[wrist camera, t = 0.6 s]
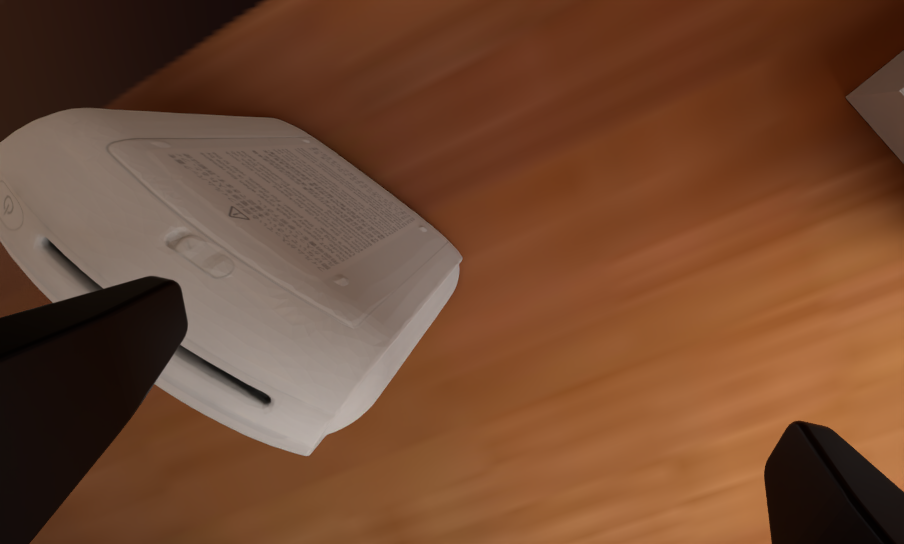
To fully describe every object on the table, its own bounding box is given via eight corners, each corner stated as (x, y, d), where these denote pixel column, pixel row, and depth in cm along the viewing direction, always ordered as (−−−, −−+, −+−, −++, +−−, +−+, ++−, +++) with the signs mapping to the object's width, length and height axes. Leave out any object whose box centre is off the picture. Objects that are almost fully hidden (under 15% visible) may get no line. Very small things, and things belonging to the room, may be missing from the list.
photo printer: (230, 188, 23) (-114, 248, 11) (277, 101, 22) (-59, 66, 10) (423, 331, 23) (280, 542, 11) (482, 254, 22) (389, 400, 10)
